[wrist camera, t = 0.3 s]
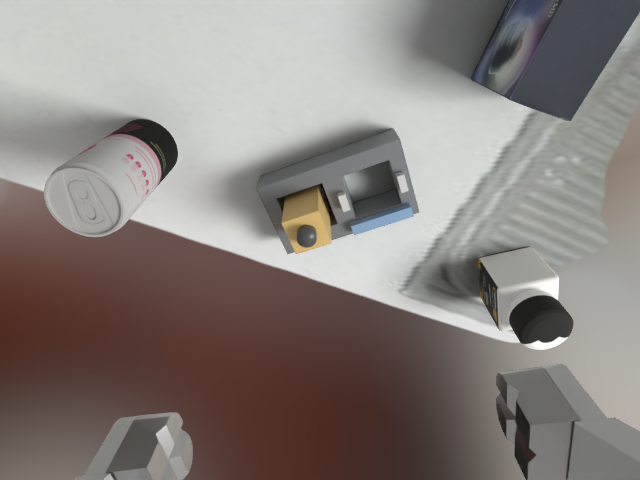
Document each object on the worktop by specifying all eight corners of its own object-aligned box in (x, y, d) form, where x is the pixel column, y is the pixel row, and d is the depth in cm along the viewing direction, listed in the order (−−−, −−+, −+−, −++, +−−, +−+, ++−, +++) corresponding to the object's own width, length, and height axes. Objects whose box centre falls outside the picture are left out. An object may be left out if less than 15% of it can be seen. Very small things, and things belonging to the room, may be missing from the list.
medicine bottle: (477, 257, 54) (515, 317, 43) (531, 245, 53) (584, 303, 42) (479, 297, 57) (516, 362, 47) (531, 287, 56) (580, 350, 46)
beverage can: (130, 176, 47) (61, 241, 34) (111, 120, 44) (27, 169, 31) (185, 172, 47) (136, 236, 34) (170, 115, 44) (110, 162, 31)
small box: (520, -36, 37) (586, -49, 28) (580, -11, 38) (662, -16, 29) (466, 79, 42) (507, 100, 33) (520, 98, 43) (574, 123, 34)
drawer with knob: (286, 188, 48) (280, 228, 39) (317, 177, 48) (318, 216, 39) (298, 215, 50) (295, 260, 41) (328, 205, 50) (332, 249, 41)
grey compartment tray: (260, 175, 47) (255, 193, 43) (393, 128, 45) (401, 141, 40) (289, 237, 52) (287, 258, 47) (411, 197, 49) (421, 216, 45)
